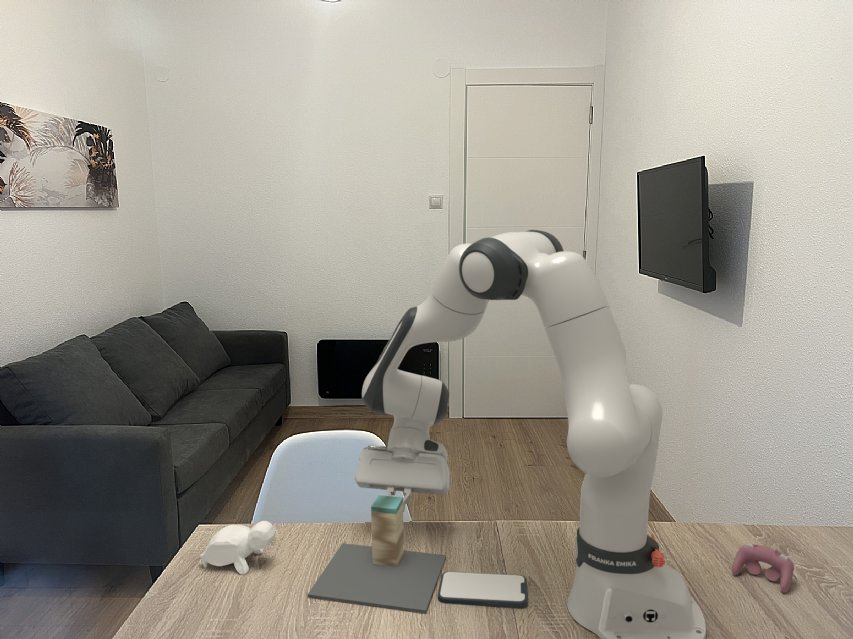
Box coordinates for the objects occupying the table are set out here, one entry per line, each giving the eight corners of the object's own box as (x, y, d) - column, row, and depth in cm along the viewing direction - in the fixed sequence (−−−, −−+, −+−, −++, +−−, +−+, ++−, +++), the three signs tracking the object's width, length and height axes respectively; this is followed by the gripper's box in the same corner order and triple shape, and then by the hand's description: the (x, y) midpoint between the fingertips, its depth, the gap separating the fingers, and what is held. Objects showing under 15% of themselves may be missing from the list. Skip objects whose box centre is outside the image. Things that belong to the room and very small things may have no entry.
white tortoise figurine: (207, 586, 123) (273, 566, 120) (189, 548, 123) (255, 526, 119) (228, 562, 132) (290, 542, 129) (211, 526, 131) (273, 505, 128)
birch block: (403, 552, 128) (402, 497, 126) (397, 566, 123) (396, 509, 121) (380, 550, 129) (378, 495, 127) (372, 563, 124) (371, 506, 122)
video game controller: (791, 594, 116) (798, 556, 118) (786, 595, 113) (794, 555, 114) (734, 574, 123) (742, 538, 124) (728, 573, 120) (736, 537, 121)
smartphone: (436, 606, 113) (527, 611, 111) (436, 598, 112) (527, 603, 110) (442, 577, 121) (526, 582, 119) (442, 570, 121) (526, 574, 119)
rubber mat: (446, 557, 127) (446, 555, 127) (425, 613, 110) (425, 610, 110) (342, 545, 132) (342, 543, 132) (307, 597, 115) (307, 594, 114)
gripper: (358, 438, 138) (344, 500, 130) (450, 445, 133) (441, 510, 126) (365, 450, 143) (352, 510, 135) (454, 457, 138) (446, 520, 131)
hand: (396, 510), depth 130 cm, fingers closed
